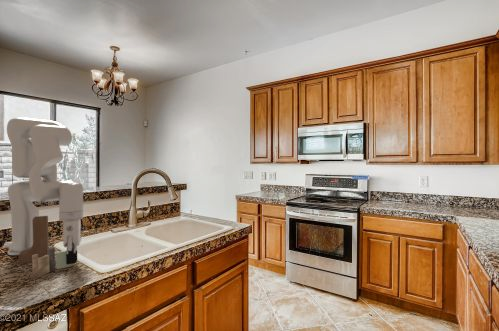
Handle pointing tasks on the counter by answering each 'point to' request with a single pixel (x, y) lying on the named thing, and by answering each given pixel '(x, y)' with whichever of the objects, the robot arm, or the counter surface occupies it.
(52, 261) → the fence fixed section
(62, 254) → the fence swing section
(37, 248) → the wooden block
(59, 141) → the robot arm
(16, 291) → the counter surface
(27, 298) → the counter surface
